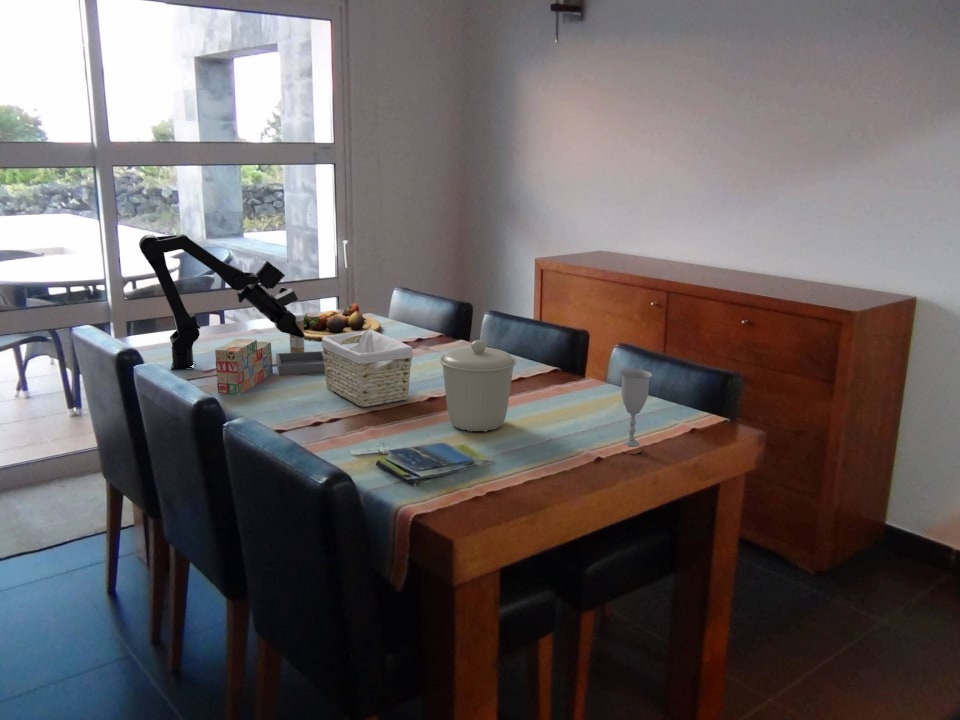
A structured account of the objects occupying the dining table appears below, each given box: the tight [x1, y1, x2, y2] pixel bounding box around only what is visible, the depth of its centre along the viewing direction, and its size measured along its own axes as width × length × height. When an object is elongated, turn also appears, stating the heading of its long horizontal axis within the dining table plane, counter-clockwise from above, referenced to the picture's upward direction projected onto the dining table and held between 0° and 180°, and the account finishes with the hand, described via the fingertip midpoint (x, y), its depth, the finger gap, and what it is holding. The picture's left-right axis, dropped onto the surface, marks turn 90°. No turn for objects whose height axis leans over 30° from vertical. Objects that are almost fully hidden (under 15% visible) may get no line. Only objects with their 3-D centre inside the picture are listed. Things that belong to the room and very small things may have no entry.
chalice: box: [620, 368, 653, 447], centre depth 188 cm, size 7×7×18 cm
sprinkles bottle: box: [289, 312, 305, 353], centre depth 260 cm, size 5×5×14 cm
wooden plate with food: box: [303, 303, 382, 342], centre depth 295 cm, size 32×32×8 cm
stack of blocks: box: [215, 338, 274, 395], centre depth 233 cm, size 21×6×12 cm, turn 169°
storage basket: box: [320, 330, 414, 408], centre depth 225 cm, size 24×16×15 cm
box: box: [275, 350, 325, 377], centre depth 249 cm, size 14×14×3 cm
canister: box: [439, 339, 517, 432], centre depth 201 cm, size 18×18×21 cm
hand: (300, 333), depth 260 cm, fingers open, 9 cm apart
